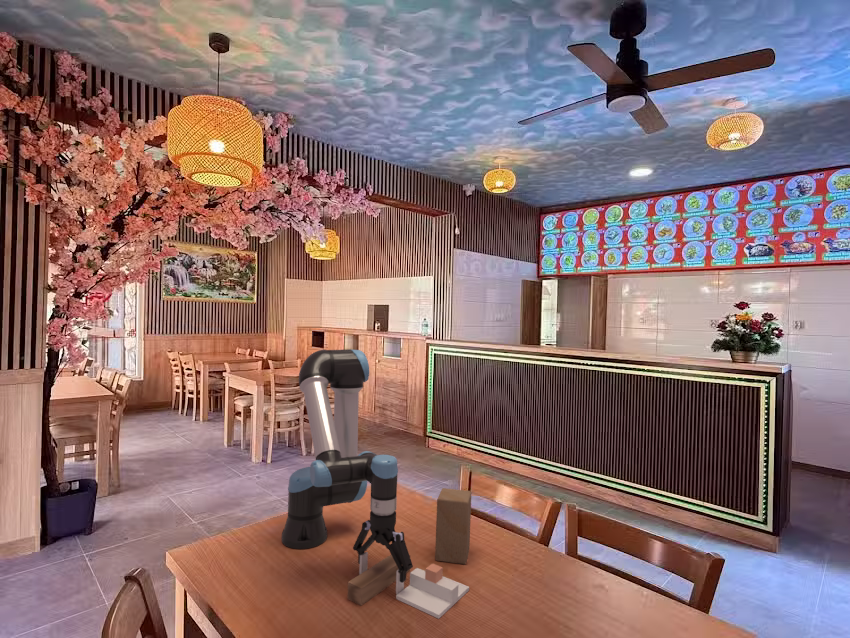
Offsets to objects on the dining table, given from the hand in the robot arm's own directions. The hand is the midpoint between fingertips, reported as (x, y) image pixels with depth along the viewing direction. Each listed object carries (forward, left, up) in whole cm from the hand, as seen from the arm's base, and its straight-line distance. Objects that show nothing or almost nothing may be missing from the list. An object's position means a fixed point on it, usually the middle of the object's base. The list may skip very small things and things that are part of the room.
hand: (381, 583), depth 138 cm
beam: (0, 0, 0) cm, 0 cm away
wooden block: (+8, +27, 0) cm, 28 cm away
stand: (+15, +5, 0) cm, 16 cm away
